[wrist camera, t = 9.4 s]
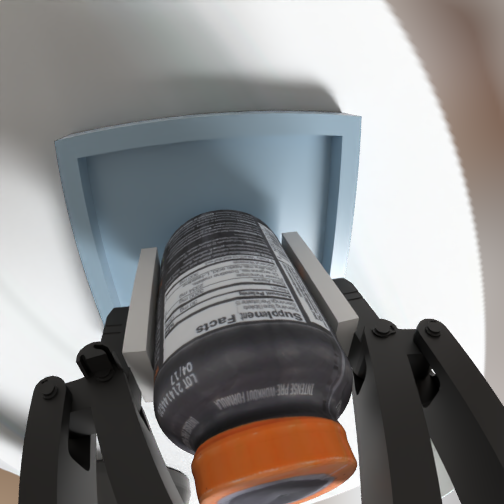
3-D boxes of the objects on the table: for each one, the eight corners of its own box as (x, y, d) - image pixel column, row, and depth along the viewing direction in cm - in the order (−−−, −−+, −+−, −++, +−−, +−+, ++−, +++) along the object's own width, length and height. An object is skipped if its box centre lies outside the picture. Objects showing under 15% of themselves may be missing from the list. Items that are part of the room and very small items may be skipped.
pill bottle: (251, 319, 17) (311, 513, 8) (148, 294, 15) (138, 521, 6) (301, 229, 15) (439, 429, 6) (185, 187, 13) (195, 451, 3)
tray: (125, 346, 19) (122, 368, 18) (69, 134, 12) (54, 141, 11) (322, 319, 22) (333, 338, 20) (342, 112, 15) (361, 116, 13)
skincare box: (413, 454, 53) (437, 500, 40) (413, 449, 50) (439, 499, 37) (443, 435, 53) (469, 479, 40) (444, 429, 50) (473, 476, 37)
